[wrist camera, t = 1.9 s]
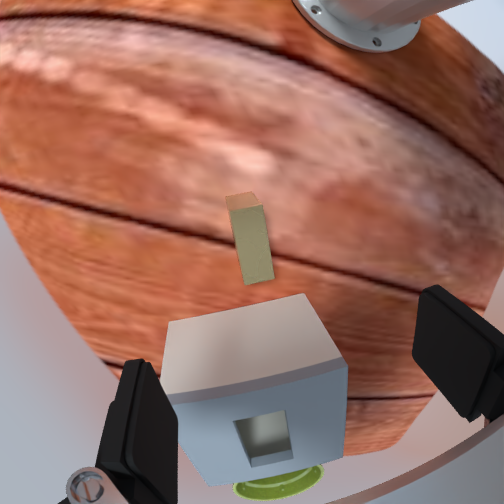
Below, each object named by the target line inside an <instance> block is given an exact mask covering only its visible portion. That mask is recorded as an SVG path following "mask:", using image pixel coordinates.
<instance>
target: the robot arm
mask: <svg viewBox="0 0 504 504" xmlns="http://www.w3.org/2000/svg"><path fill="white" fill-rule="evenodd" d="M470 1H472V0H293V2H294V4H295V5H296V7H297V8H298V9H299V11H300V12H301V13H302V15H303V16H304V17H305V18H306V19H307V20H308V21H309V22H310V23H311V24H312V25H313V26H314V27H316V28H317V29H318V30H320V31H321V32H322V33H323V34H325V35H326V36H328V37H330V38H331V39H333V40H335V41H336V42H338V43H340V44H343V45H345V46H347V47H350V48H352V49H356V50H360V51H364V52H372V53H382V52H389V51H392V50H396V49H399V48H401V47H403V46H405V45H407V44H408V43H409V42H410V41H411V40H413V39H414V37H415V35H416V34H417V32H418V30H419V27H420V24H421V19H423V18H426V17H428V16H431V15H434V14H436V13H439V12H441V11H444V10H447V9H449V8H452V7H455V6H458V5H461V4H464V3H467V2H470ZM312 12H314V13H315V14H314V13H312ZM412 356H413V359H414V360H415V362H416V363H417V364H418V365H419V366H420V368H421V369H422V370H423V371H424V372H425V374H426V375H427V376H428V377H429V378H430V379H431V381H432V382H433V383H434V384H435V385H436V387H437V388H438V389H439V390H440V391H441V393H442V394H443V395H444V396H445V397H446V399H447V400H448V401H449V402H450V404H451V405H452V406H453V407H454V409H455V410H456V411H457V412H458V414H459V415H460V416H461V417H463V418H466V419H467V420H468V421H469V423H470V422H472V421H474V420H475V419H476V418H478V417H479V416H481V414H483V415H484V416H485V422H484V428H483V429H481V430H480V431H478V432H477V433H475V434H474V435H472V436H471V437H469V438H468V439H466V440H465V441H463V442H461V443H460V444H458V445H456V446H455V447H453V448H451V449H450V450H448V451H446V452H445V453H443V454H441V455H440V456H437V457H436V458H434V459H432V460H430V461H428V462H426V463H424V464H422V465H421V466H419V467H417V468H415V469H413V470H411V471H409V472H406V473H404V474H403V475H400V476H398V477H396V478H393V479H391V480H389V481H386V482H384V483H382V484H379V485H377V486H374V487H372V488H369V489H367V490H364V491H361V492H359V493H356V494H353V495H350V496H348V497H345V498H342V499H339V500H336V501H332V502H329V503H326V504H504V334H502V333H501V332H500V331H499V330H497V329H496V328H495V327H494V326H492V325H491V324H490V323H489V322H487V321H486V320H485V319H484V318H482V317H481V316H480V315H479V314H477V313H476V312H475V311H473V310H472V309H471V308H469V307H468V306H467V305H465V304H464V303H463V302H461V301H460V300H459V299H457V298H456V297H455V296H453V295H452V294H451V293H449V292H448V291H447V290H445V289H444V288H442V287H441V286H440V285H433V286H431V287H428V288H425V289H424V290H423V291H422V294H421V295H420V296H419V303H418V312H417V320H416V328H415V335H414V342H413V349H412ZM177 463H178V418H177V415H176V413H175V411H174V409H173V407H172V405H171V403H170V401H169V399H168V397H167V395H166V393H165V392H164V390H163V388H162V386H161V384H160V381H159V379H158V377H157V375H156V373H155V371H154V369H153V367H152V365H151V363H150V362H145V360H144V359H135V360H128V361H126V362H125V364H124V367H123V371H122V374H121V378H120V382H119V385H118V389H117V393H116V396H115V400H114V401H113V402H111V404H110V406H109V409H108V413H107V417H106V421H105V426H104V429H103V433H102V437H101V441H100V446H99V450H98V455H97V459H96V464H95V467H85V468H82V469H79V470H77V471H76V472H75V473H73V474H72V475H71V477H70V478H69V479H68V482H67V485H66V494H67V498H65V499H64V500H62V501H61V502H59V503H58V504H177V503H178V490H177V489H178V484H177V482H178V481H177V478H178V475H177V474H178V473H177V471H178V469H177V468H178V464H177Z"/></svg>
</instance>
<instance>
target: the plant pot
mask: <svg viewBox="0 0 504 504" xmlns="http://www.w3.org/2000/svg"><path fill="white" fill-rule="evenodd" d="M323 475H324V468H323V467H322V465H321V464H320V465H316V466H313V467H309V468H305V469H302V470H298V471H294V472H290V473H285V474H281V475H276V476H272V477H267V478H262V479H257V480H251V481H245V482H239V483H233V491H234V493H235V494H236V495H237V496H239V497H241V498H244V499H248V500H255V501H269V500H276V499H283V498H287V497H290V496H293V495H296V494H299V493H302V492H304V491H306V490H307V489H309V488H311V487H313V486H314V485H315V484H316V483H318V482H319V481H320V479H321V478H322V477H323Z"/></svg>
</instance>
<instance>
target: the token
mask: <svg viewBox="0 0 504 504" xmlns="http://www.w3.org/2000/svg"><path fill="white" fill-rule="evenodd" d="M225 199H226V204H227V209H228V214H229V218H230V223H231V228H232V233H233V238H234V243H235V248H236V253H237V258H238V261H239V265H240V269H241V273H242V277H243V281H244V284H245V285H248V284H253V283H257V282H262V281H267V280H271V279H275V278H274V271H273V265H272V259H271V253H270V247H269V241H268V235H267V229H266V223H265V217H264V211H263V205H262V203H261V202H260V201H259V200H258V199H257V198H256V196H255V195H254V194H253V193H252V192H246V193H241V194H236V195H231V196H226V197H225Z"/></svg>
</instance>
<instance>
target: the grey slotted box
mask: <svg viewBox="0 0 504 504" xmlns="http://www.w3.org/2000/svg"><path fill="white" fill-rule="evenodd" d="M160 384H161V386H162V388H163V390H164V392H165V393H166V395H167V397H168V399H169V401H170V403H171V405H172V407H173V409H174V411H175V413H176V415H177V418H178V443H179V444H180V446H181V447H182V449H183V450H184V452H185V453H186V455H187V456H188V458H189V459H190V461H191V462H192V464H193V465H194V466H195V468H196V469H197V471H198V472H199V473H200V475H201V476H202V478H203V479H204V481H205V482H206V483H207V485H208V486H217V485H225V484H232V483H239V482H245V481H251V480H257V479H262V478H267V477H272V476H276V475H281V474H285V473H290V472H294V471H298V470H302V469H305V468H309V467H313V466H316V465H320V464H323V463H327V462H330V461H333V460H336V459H339V458H342V457H343V448H344V437H345V423H346V407H347V385H348V365H347V363H346V362H345V360H344V358H343V357H342V355H341V353H340V352H339V350H338V348H337V347H336V345H335V343H334V342H333V340H332V338H331V337H330V335H329V333H328V332H327V330H326V328H325V327H324V325H323V323H322V322H321V320H320V318H319V317H318V315H317V314H316V312H315V310H314V309H313V307H312V305H311V304H310V302H309V300H308V299H307V297H306V296H305V294H304V293H301V294H297V295H293V296H289V297H284V298H280V299H276V300H271V301H267V302H263V303H258V304H254V305H249V306H245V307H240V308H235V309H231V310H226V311H221V312H216V313H211V314H206V315H201V316H196V317H191V318H186V319H181V320H176V321H170V322H169V325H168V331H167V337H166V344H165V350H164V357H163V364H162V371H161V378H160Z"/></svg>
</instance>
